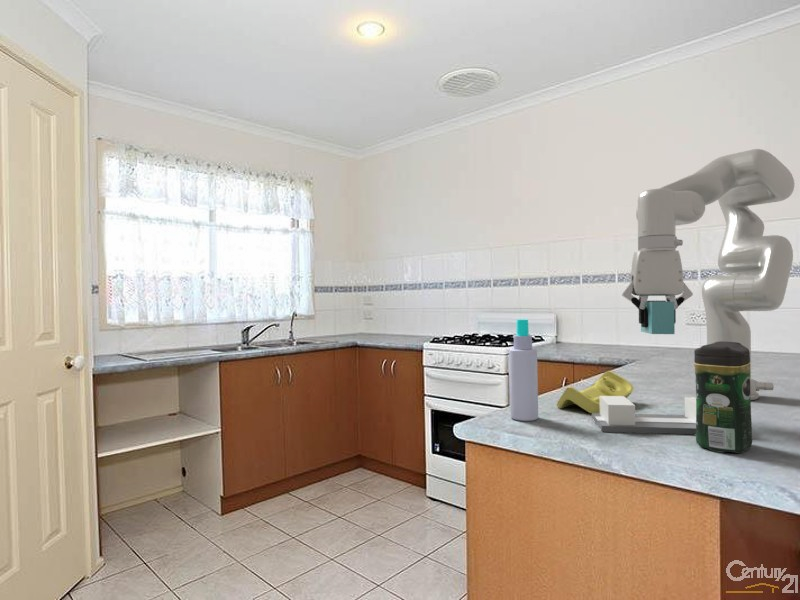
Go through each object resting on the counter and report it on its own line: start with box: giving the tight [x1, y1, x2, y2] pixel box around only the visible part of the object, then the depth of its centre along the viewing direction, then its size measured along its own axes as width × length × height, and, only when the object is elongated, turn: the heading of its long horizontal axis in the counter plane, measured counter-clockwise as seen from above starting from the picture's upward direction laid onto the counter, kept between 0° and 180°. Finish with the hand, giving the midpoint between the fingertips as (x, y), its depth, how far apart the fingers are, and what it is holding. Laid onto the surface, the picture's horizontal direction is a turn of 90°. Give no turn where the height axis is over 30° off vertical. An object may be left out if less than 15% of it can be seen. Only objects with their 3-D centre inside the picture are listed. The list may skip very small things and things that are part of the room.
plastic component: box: [556, 370, 634, 414], centre depth 123 cm, size 20×7×10 cm
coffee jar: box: [693, 341, 753, 454], centre depth 89 cm, size 10×8×19 cm
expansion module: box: [640, 300, 676, 335], centre depth 113 cm, size 4×9×7 cm, turn 168°
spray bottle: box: [508, 318, 539, 422], centre depth 112 cm, size 6×6×22 cm
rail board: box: [591, 396, 696, 435], centre depth 103 cm, size 25×11×5 cm, turn 79°
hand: (657, 326), depth 113 cm, fingers closed on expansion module, 4 cm apart
